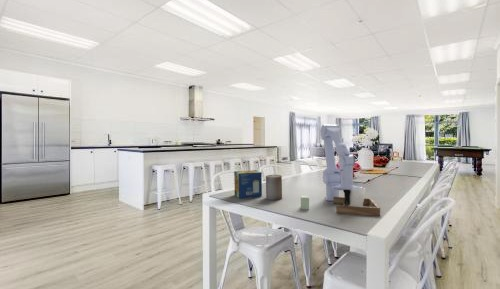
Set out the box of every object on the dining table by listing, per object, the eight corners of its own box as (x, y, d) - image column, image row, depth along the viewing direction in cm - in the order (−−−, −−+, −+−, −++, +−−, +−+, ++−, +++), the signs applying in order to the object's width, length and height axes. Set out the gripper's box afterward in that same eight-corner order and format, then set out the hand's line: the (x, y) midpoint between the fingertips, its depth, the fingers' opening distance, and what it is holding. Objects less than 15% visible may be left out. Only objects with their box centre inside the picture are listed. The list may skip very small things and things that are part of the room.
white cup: (360, 205, 133) (362, 186, 133) (366, 209, 125) (367, 190, 125) (345, 203, 134) (347, 185, 133) (350, 208, 126) (351, 188, 125)
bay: (333, 203, 138) (333, 196, 138) (370, 204, 133) (370, 198, 133) (336, 213, 120) (336, 205, 120) (380, 215, 115) (380, 208, 115)
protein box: (234, 195, 161) (233, 171, 160) (256, 193, 165) (256, 170, 165) (238, 198, 151) (238, 173, 150) (262, 196, 155) (262, 171, 155)
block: (301, 206, 131) (301, 195, 131) (309, 207, 130) (308, 195, 130) (300, 209, 127) (300, 197, 127) (308, 209, 126) (308, 197, 126)
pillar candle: (281, 196, 155) (281, 172, 155) (282, 200, 146) (281, 174, 145) (266, 196, 156) (265, 172, 156) (265, 200, 146) (265, 174, 146)
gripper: (332, 178, 128) (332, 205, 128) (363, 179, 124) (363, 207, 124) (331, 177, 135) (332, 202, 135) (360, 177, 131) (361, 203, 131)
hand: (347, 204), depth 130 cm, fingers closed, pressing on white cup
